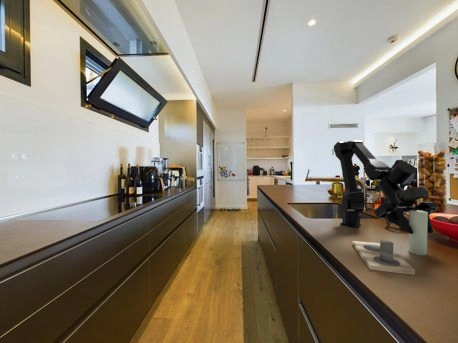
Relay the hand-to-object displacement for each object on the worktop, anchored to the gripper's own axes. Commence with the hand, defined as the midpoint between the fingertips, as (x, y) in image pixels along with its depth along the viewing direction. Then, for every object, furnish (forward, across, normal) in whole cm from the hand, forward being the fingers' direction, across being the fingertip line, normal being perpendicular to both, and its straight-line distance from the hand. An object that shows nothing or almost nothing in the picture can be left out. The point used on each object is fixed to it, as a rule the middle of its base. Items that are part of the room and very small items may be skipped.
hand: (422, 233), depth 71 cm
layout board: (+5, -15, +4) cm, 16 cm away
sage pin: (+4, 0, +6) cm, 7 cm away
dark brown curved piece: (-15, +19, +25) cm, 35 cm away
